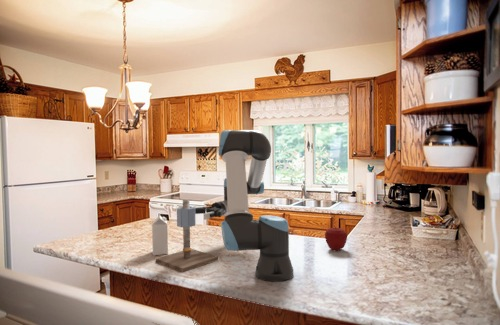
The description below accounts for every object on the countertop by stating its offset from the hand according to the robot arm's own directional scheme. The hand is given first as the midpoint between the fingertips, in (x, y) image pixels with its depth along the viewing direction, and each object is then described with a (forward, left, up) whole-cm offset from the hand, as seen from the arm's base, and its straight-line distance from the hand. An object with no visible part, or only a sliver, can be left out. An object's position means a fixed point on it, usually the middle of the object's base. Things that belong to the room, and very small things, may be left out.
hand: (193, 215), depth 152 cm
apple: (-46, -53, -20) cm, 73 cm away
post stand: (-1, +5, -20) cm, 21 cm away
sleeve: (-1, +5, -4) cm, 6 cm away
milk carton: (+19, +6, -20) cm, 28 cm away
